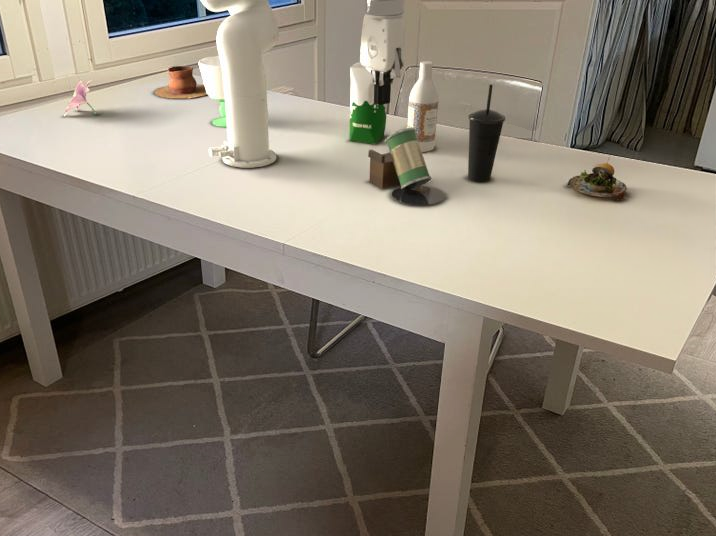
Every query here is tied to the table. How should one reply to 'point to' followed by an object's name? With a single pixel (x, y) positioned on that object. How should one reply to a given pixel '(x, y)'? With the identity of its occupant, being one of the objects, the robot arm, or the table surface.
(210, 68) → the cup
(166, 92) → the ceramic pot
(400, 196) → the coaster
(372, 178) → the rest
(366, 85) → the milk carton
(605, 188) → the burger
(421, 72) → the bath foam
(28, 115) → the table surface
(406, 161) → the can
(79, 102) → the lily
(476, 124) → the drinking cup
